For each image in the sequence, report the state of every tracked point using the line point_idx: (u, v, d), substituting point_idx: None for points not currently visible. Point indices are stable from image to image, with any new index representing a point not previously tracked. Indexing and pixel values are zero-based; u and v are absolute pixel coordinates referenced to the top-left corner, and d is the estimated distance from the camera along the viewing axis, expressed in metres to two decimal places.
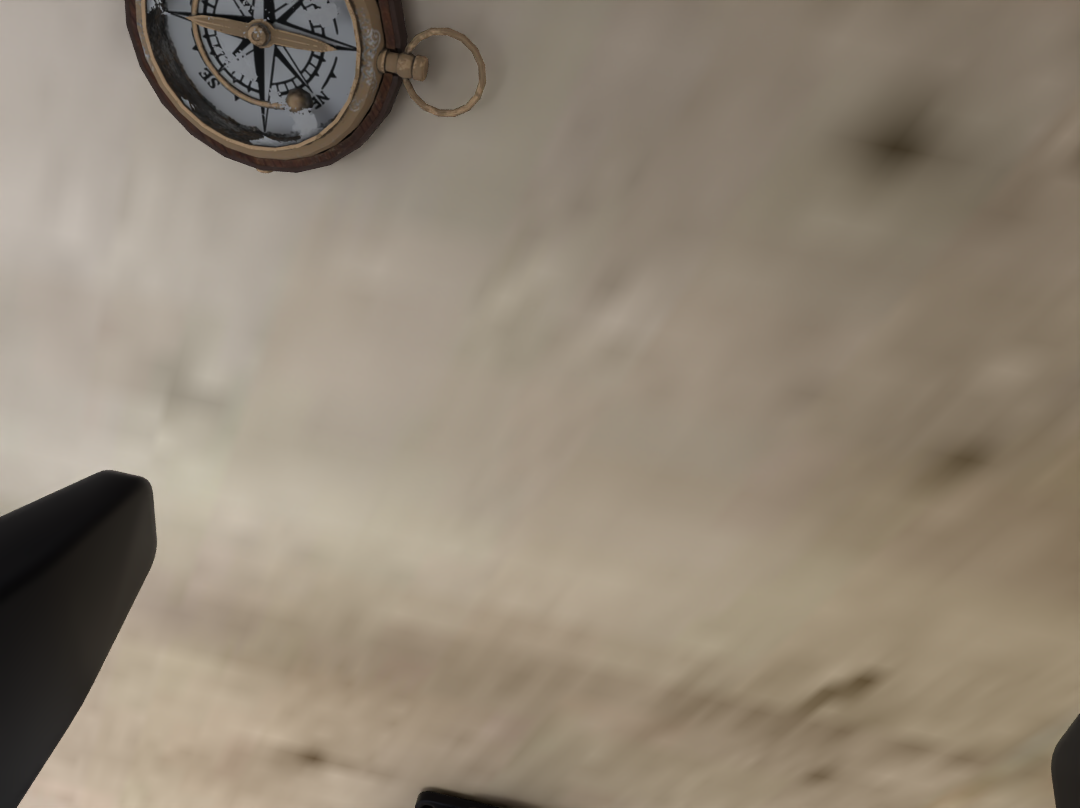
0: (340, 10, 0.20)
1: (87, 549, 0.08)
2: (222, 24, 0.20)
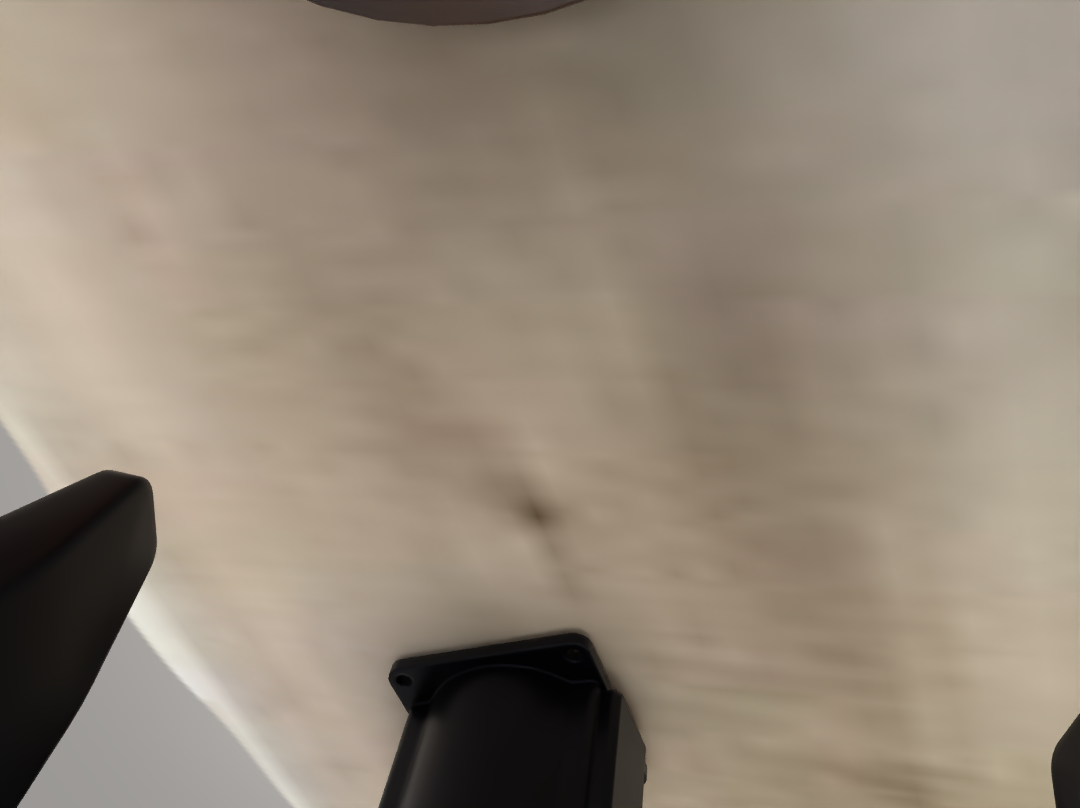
0: None
1: (87, 549, 0.08)
2: None
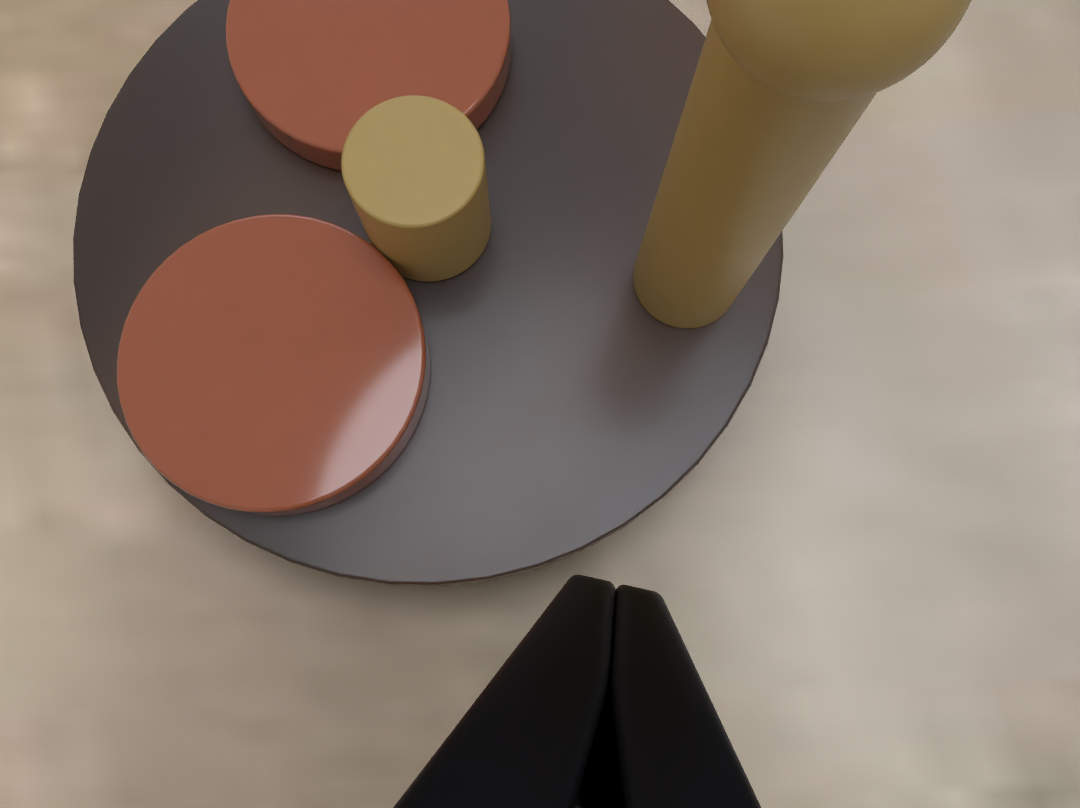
0: None
1: None
2: None
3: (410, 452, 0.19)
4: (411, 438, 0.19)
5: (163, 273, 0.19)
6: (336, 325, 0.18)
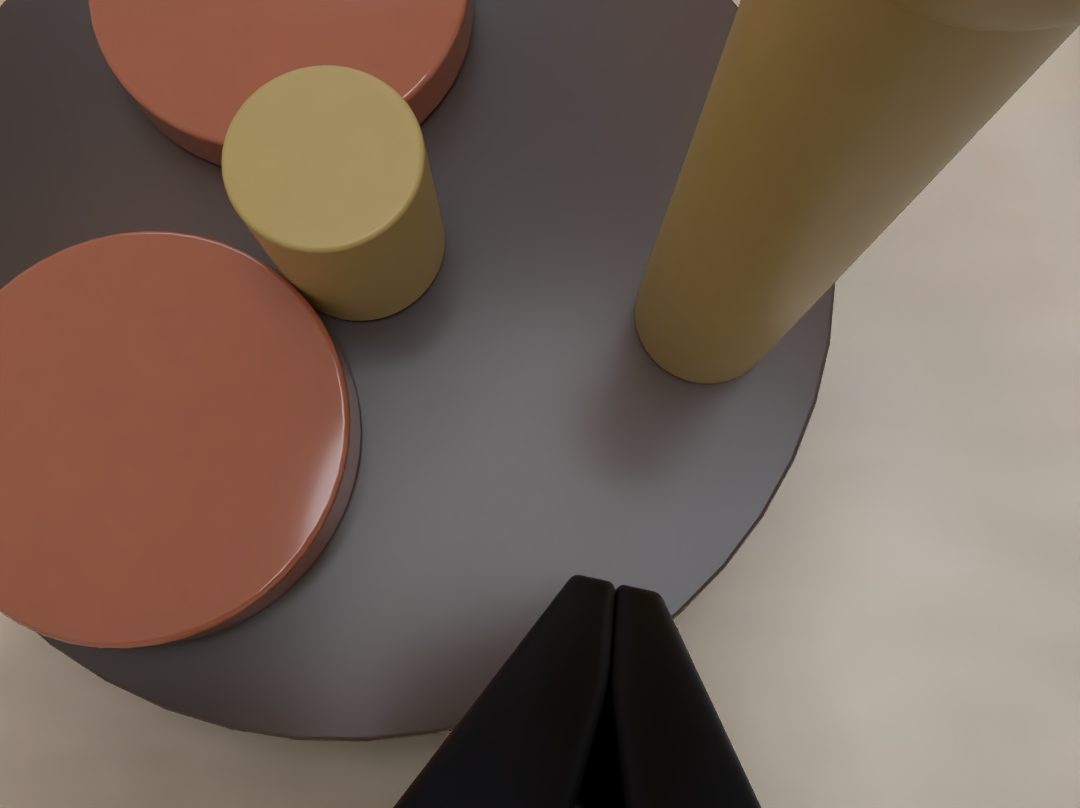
0: None
1: None
2: None
3: (332, 555, 0.14)
4: (333, 535, 0.14)
5: None
6: (227, 384, 0.13)
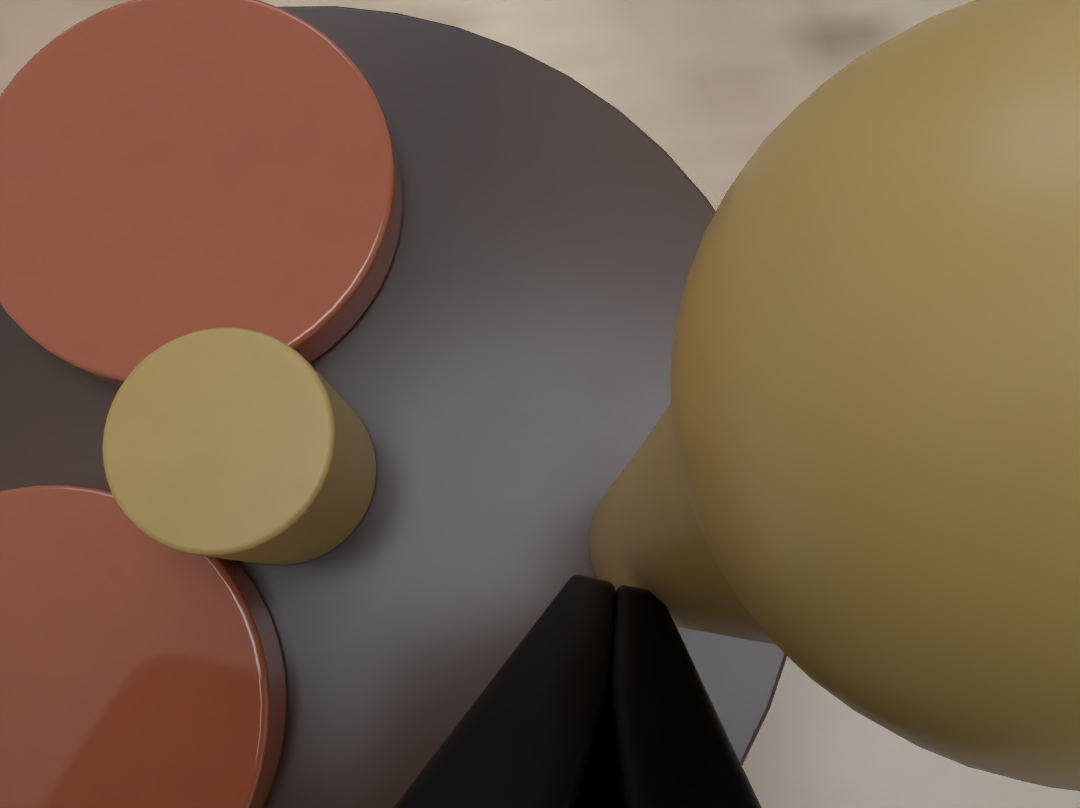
0: None
1: None
2: None
3: None
4: None
5: None
6: (129, 665, 0.12)
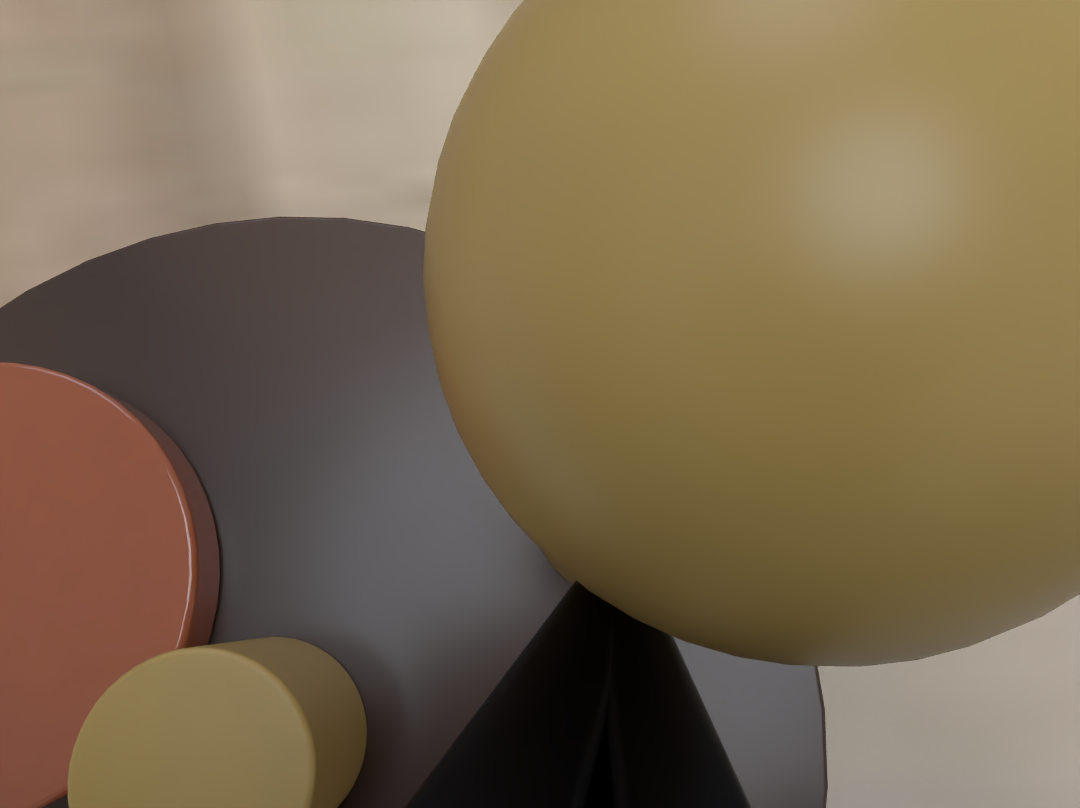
0: None
1: None
2: None
3: None
4: None
5: None
6: None
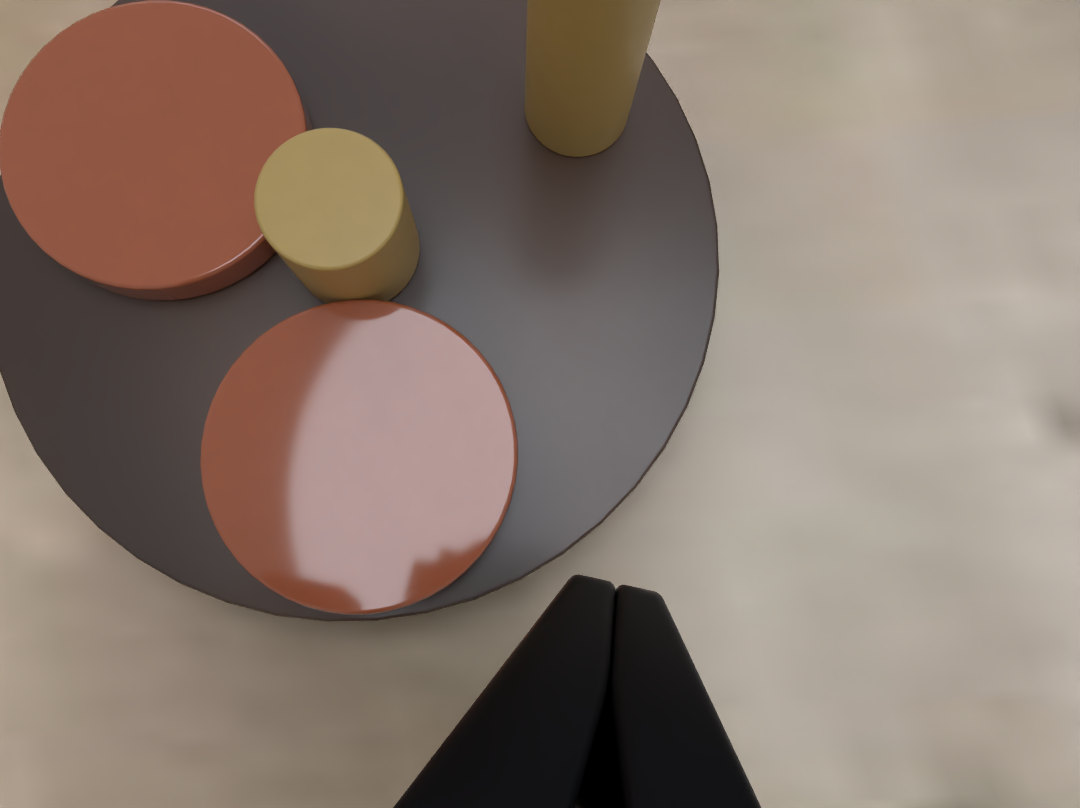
0: None
1: None
2: None
3: (520, 420, 0.19)
4: None
5: (210, 476, 0.18)
6: (381, 382, 0.18)
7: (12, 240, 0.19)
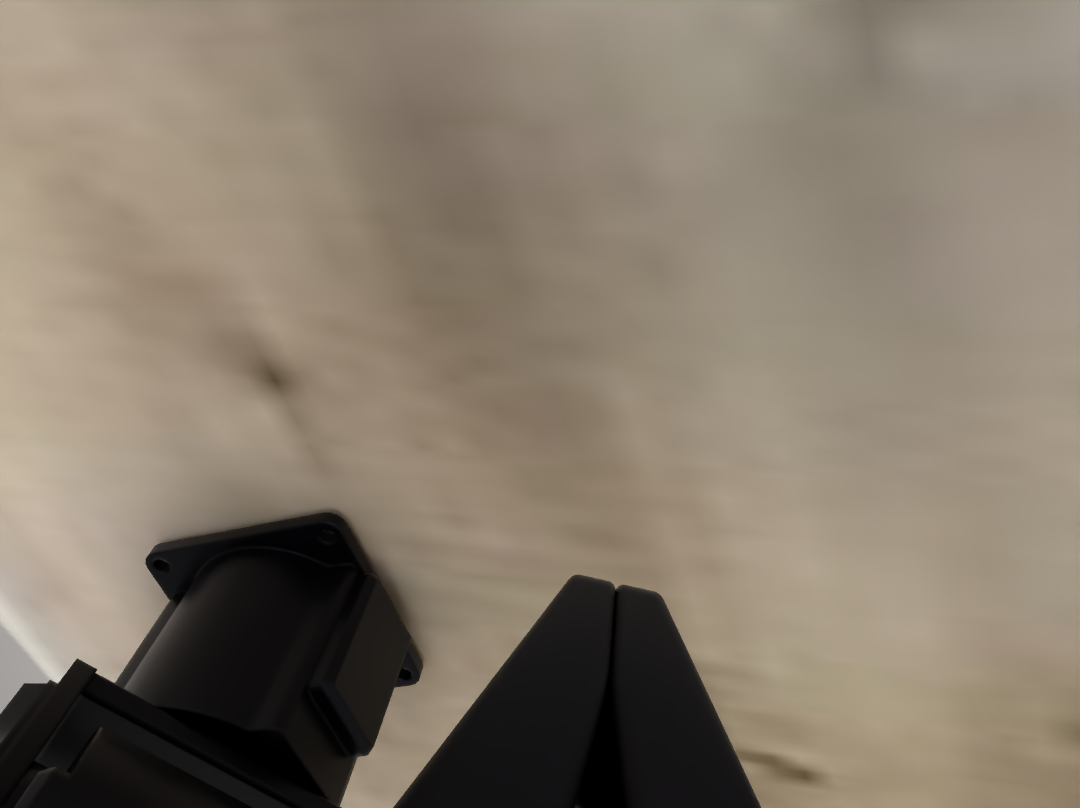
0: None
1: None
2: None
3: None
4: None
5: None
6: None
7: None
